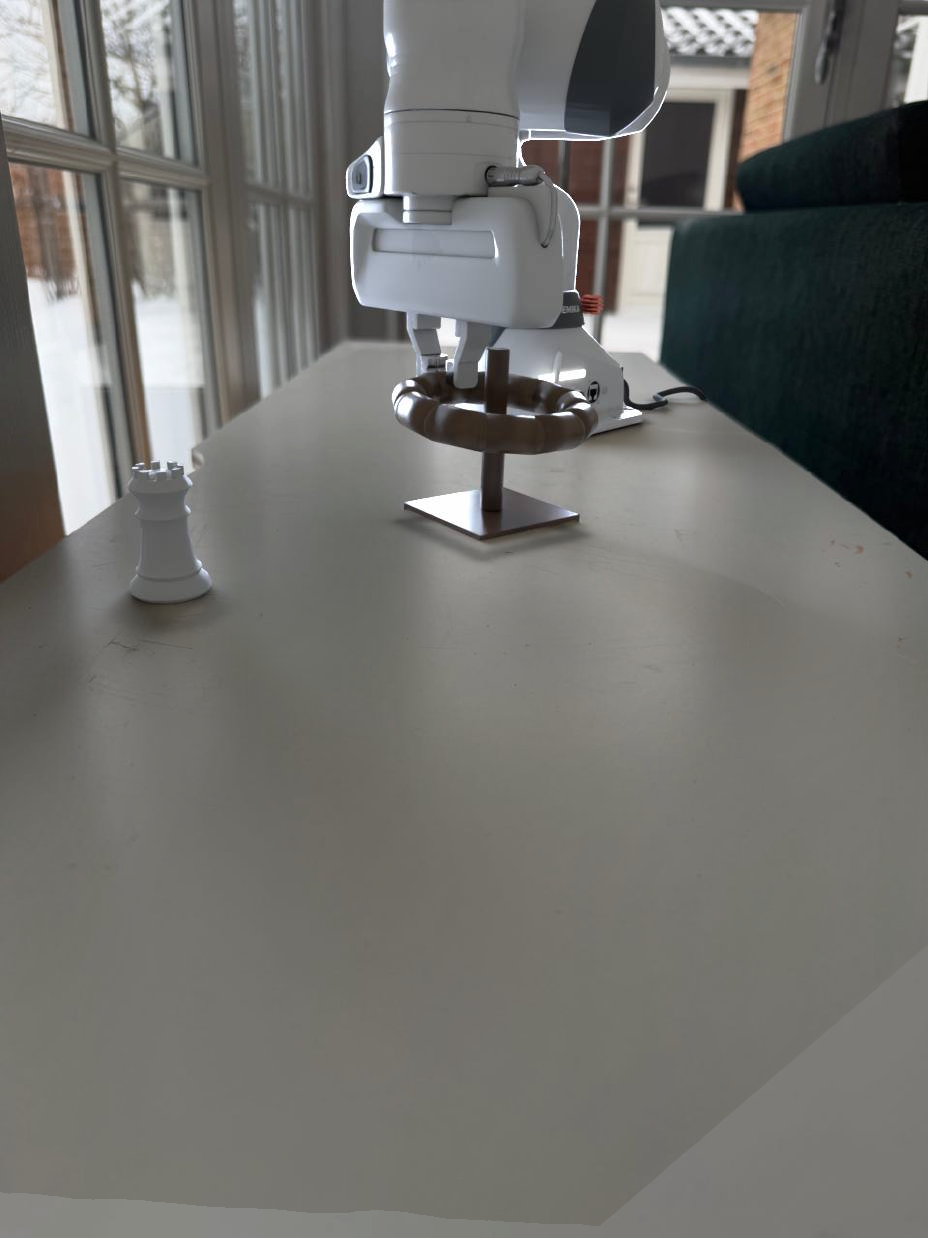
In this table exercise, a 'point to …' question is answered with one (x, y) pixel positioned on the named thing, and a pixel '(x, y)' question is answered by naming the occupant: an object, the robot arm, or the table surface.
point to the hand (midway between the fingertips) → (446, 383)
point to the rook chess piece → (165, 537)
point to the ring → (495, 415)
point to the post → (492, 481)
